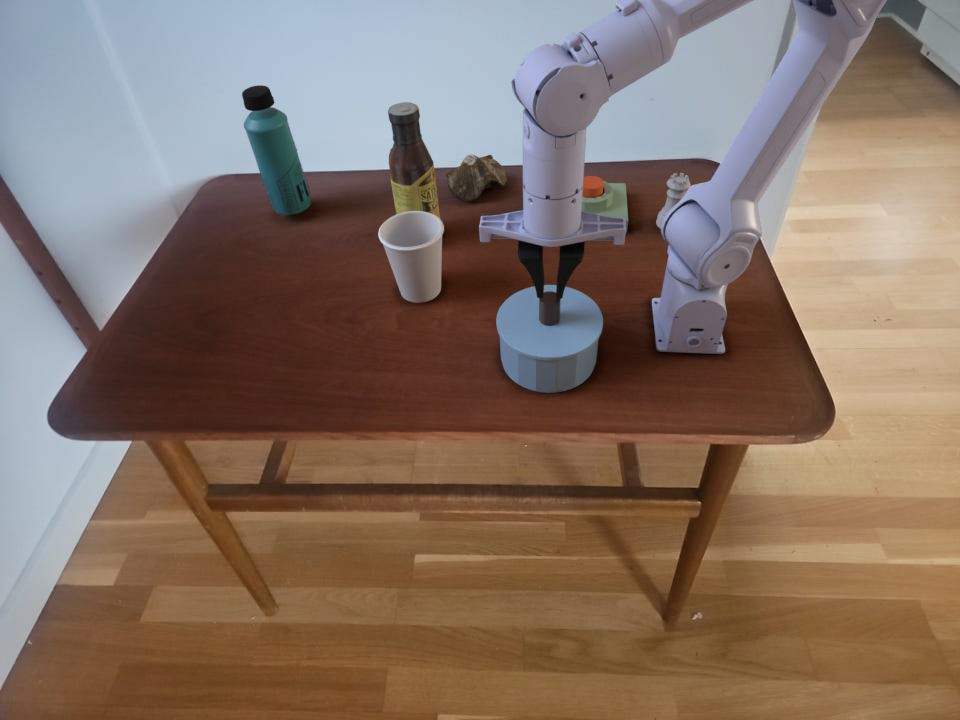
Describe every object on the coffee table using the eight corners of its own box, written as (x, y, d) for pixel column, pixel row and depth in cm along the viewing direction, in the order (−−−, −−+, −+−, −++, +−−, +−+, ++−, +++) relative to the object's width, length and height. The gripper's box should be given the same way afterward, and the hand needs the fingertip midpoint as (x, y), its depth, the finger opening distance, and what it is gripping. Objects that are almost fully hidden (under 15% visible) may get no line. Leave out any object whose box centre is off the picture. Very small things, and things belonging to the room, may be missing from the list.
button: (602, 199, 95) (603, 189, 94) (578, 199, 96) (578, 188, 94) (602, 186, 98) (603, 175, 96) (578, 185, 98) (579, 175, 97)
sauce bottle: (436, 251, 95) (419, 122, 80) (395, 248, 96) (371, 120, 81) (446, 225, 99) (432, 99, 85) (407, 223, 100) (386, 97, 86)
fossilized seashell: (496, 156, 108) (441, 178, 107) (497, 135, 101) (437, 158, 101) (514, 194, 106) (458, 217, 106) (516, 176, 100) (456, 199, 99)
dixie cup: (379, 300, 88) (365, 240, 81) (408, 264, 93) (398, 205, 86) (433, 315, 85) (424, 254, 78) (460, 277, 90) (454, 217, 83)
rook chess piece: (678, 238, 94) (687, 189, 88) (650, 228, 96) (657, 180, 90) (691, 222, 96) (701, 174, 90) (663, 213, 98) (672, 166, 92)
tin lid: (603, 366, 70) (606, 338, 67) (491, 361, 71) (489, 334, 68) (601, 293, 78) (604, 265, 75) (501, 290, 80) (500, 262, 77)
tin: (596, 395, 74) (599, 360, 70) (497, 390, 76) (495, 355, 71) (595, 326, 82) (598, 291, 78) (505, 323, 83) (504, 288, 79)
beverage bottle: (310, 223, 102) (273, 98, 87) (269, 224, 102) (225, 101, 88) (318, 200, 106) (284, 78, 92) (279, 201, 107) (238, 80, 92)
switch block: (626, 232, 95) (629, 209, 92) (551, 231, 96) (552, 208, 94) (624, 195, 102) (626, 172, 99) (554, 194, 103) (554, 172, 100)
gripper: (628, 162, 63) (615, 271, 73) (481, 161, 65) (488, 267, 75) (632, 202, 58) (617, 313, 68) (473, 200, 60) (481, 308, 70)
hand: (550, 292), depth 71 cm, fingers closed
